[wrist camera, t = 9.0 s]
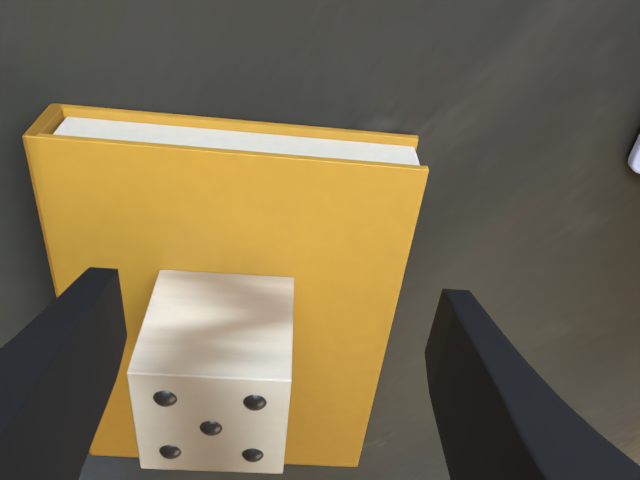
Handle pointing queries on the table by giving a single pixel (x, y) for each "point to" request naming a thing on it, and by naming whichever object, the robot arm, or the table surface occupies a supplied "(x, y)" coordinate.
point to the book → (239, 240)
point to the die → (214, 372)
